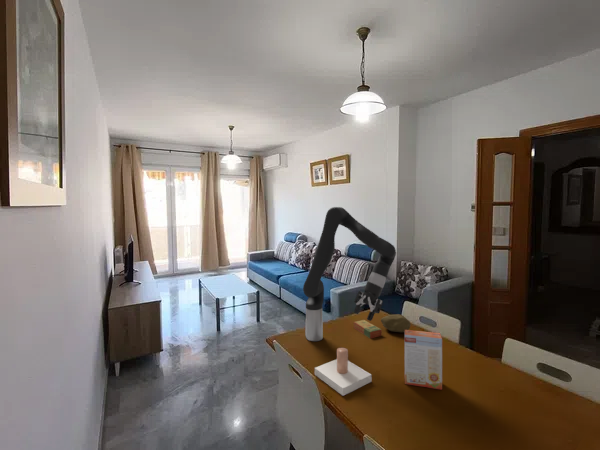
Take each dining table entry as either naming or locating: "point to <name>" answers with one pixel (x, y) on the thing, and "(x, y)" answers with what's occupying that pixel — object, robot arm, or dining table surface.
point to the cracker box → (423, 359)
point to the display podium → (343, 377)
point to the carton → (367, 329)
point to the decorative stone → (396, 323)
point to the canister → (342, 360)
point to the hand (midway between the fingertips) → (362, 316)
